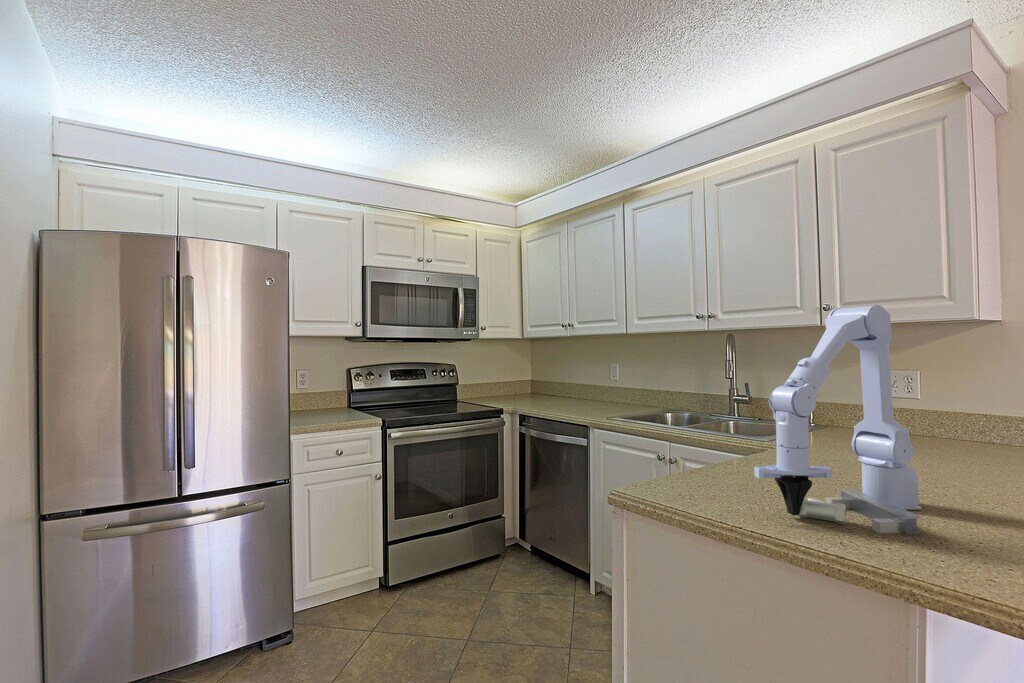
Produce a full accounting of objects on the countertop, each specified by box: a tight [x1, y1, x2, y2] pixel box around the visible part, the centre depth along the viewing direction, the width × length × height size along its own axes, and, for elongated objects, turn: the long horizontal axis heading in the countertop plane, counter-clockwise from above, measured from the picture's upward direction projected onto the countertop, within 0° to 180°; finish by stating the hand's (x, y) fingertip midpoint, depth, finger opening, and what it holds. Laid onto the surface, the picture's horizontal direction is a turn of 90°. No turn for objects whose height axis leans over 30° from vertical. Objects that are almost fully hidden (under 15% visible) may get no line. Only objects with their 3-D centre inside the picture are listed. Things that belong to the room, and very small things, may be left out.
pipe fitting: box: [797, 496, 847, 526], centre depth 100 cm, size 8×4×7 cm
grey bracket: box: [825, 488, 921, 536], centre depth 100 cm, size 7×18×4 cm, turn 0°
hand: (793, 513), depth 100 cm, fingers closed
